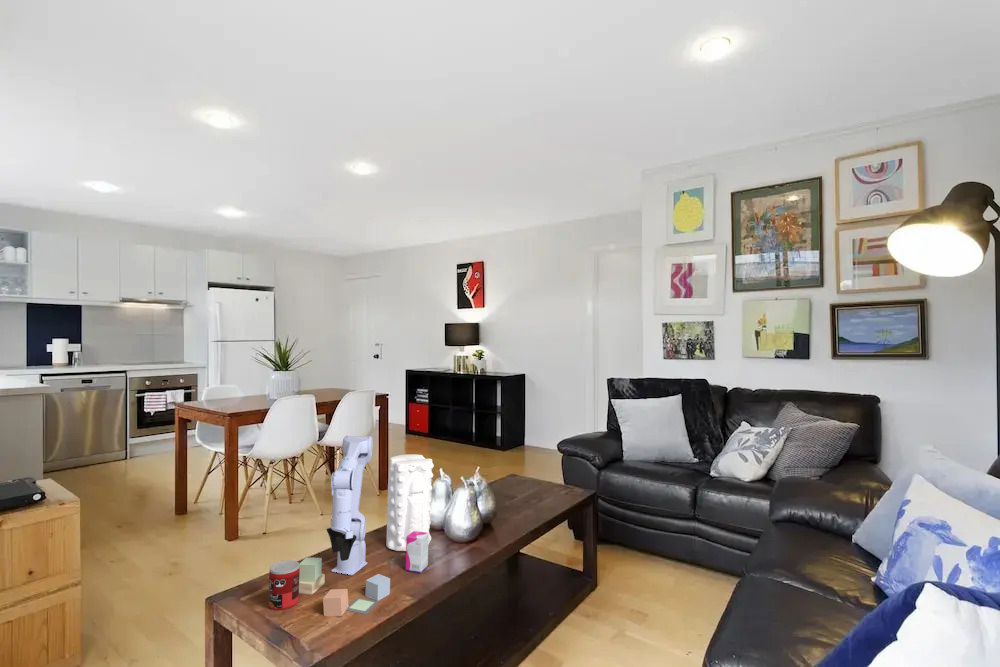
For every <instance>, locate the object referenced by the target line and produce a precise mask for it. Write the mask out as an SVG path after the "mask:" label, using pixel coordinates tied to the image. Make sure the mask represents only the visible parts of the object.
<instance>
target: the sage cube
mask: <svg viewBox="0 0 1000 667" xmlns="http://www.w3.org/2000/svg"><path fill="white" fill-rule="evenodd" d="M322 559H323V558H322V557H309V556H308V557H305V558H303V560H302V561H301V562H299V565H300V575H299V581H305V582H315V581H316V580H317V579H318V578H319V576H320V575H321V574H322V567H323V566H322V561H323V560H322Z"/></svg>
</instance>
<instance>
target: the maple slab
mask: <svg viewBox="0 0 1000 667" xmlns="http://www.w3.org/2000/svg"><path fill="white" fill-rule="evenodd" d="M325 578H326V577H325V573H321V575H320V576H319V578H318V579H317V580H316V581H315V582H305V581H299V594H304V595H313V594H314V593H315V592H317V591H318V590H319V589H320V588H321V587H322V586H323V585H324V584H326V583H325V581H326V580H325Z"/></svg>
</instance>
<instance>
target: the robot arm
mask: <svg viewBox="0 0 1000 667" xmlns="http://www.w3.org/2000/svg"><path fill="white" fill-rule="evenodd" d="M373 440H374V439H373V436H372V435H369V436H362V435H357V436H356V435H355V436H352V435H350V436H349V435H345V436H344V437H343V439H342V445H341V447H342V450H341V451H342V455H343V457H342V458H341V459H340V462H339V464H338V466H337V468H336V470H335V472H334V471H333V472H332V474H331V477H330V478H331V479H330V488H331V497H332V512H331V513H332V514H331V518H330V527H329V528H326V532H327V534H328V537H329V541H330V546H331V550H332V553H333V554H334V553H337V555H336V556H337V560H336V561H337V563H336V564H337V565H336V566H334V568H332V569H331V572H332V573H336V572H337V574H341V573H342V574H343V575H347V574H348V576H354V575H355V574H356V573H357V572H359V571H360V570H361V569H363V568H364V567H365V566H366V565H368V562H367V561H366V554H367V553H366V547H367V546H366V541H365V537H366V531H367V530H366V529H367V528H366V526H367V523H366V522H367V519H366V517H365V515H364V514H363V513H362V512H360V511H359V510H360V502H361V494H362V488H363V487H362V484H363V478H364V470H365V467H366V464H368V463H370V462H371V460H372V456H373V445H374V441H373Z"/></svg>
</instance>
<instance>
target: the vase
mask: <svg viewBox="0 0 1000 667" xmlns="http://www.w3.org/2000/svg"><path fill="white" fill-rule="evenodd" d="M434 465H435V464H434V463H433V459H432V458H426V457H424V455H423V454H414V453H413V454H408V453H407V454H398V455H394V456H391V457H390V458H389V464H388V477H387V478H388V479H387V482H388V483H387V504H386V507H387V509H386V510H387V511H386V512H387V513H386V542H385V543H386V547H387V548H388V549H390V550H393V551H396V552H406V539H407V536H408V535H409V534H411V533H412V532H413V531H419V532H427V533H429V538H428V545H429V544H430V542H431V541H432V536H431V534H430V528H431V527H430V526H431V522H432V521H431V515H430V514H431V510H432V507H431V505H432V490H433V486H432V481H433V480H432V478H433V477H434V473H433V469H434Z"/></svg>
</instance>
